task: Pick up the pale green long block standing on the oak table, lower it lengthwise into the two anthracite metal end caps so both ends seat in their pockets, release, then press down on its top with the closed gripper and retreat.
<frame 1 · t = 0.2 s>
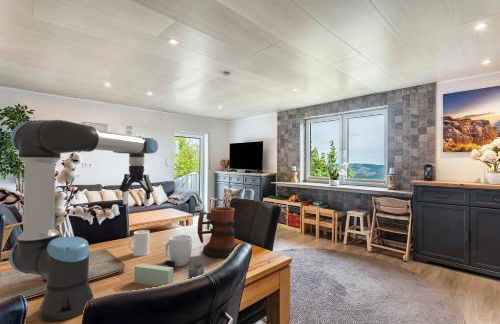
hand: (135, 204, 139), 28 cm above the table, fingers open, 13 cm apart
tankard: (219, 252, 148), on the table
cap far: (164, 271, 121), on the table
mug: (138, 254, 143), on the table
mug 2: (178, 263, 130), on the table
pale green long block: (153, 283, 108), on the table
cap near: (199, 276, 116), on the table
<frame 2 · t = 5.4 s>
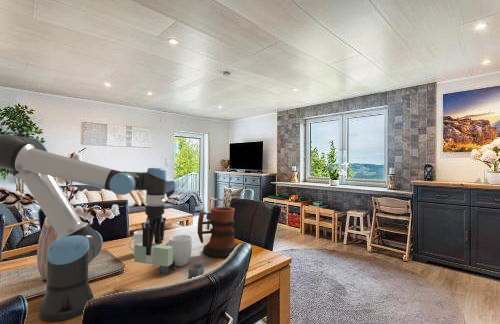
hand: (152, 260, 108), 9 cm above the table, fingers closed on pale green long block, 3 cm apart
pale green long block: (153, 262, 108), point 9 cm above the table, touching gripper
everything else where it was.
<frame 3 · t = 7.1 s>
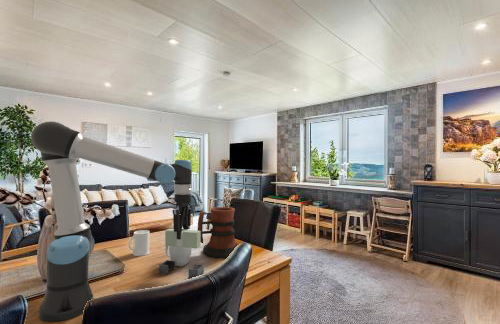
hand: (182, 244, 119), 13 cm above the table, fingers closed on pale green long block, 3 cm apart
pale green long block: (182, 246, 118), point 13 cm above the table, touching gripper
everything else where it was.
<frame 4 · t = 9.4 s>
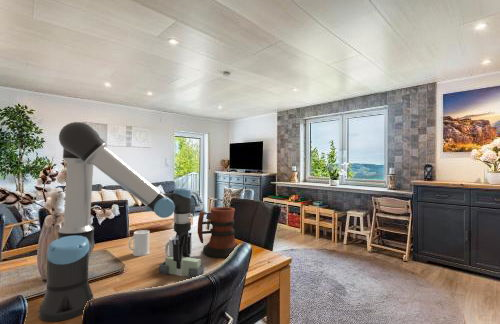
hand: (182, 273, 119), 0 cm above the table, fingers closed on pale green long block, 4 cm apart
pale green long block: (182, 273, 118), on the table, touching gripper
everything else where it was.
when the fingers open (0 cm above the table, at t = 10.8 s): pale green long block stays where it is, on the table.
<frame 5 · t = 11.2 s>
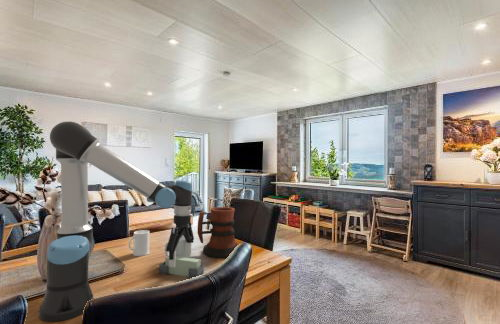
hand: (180, 261, 118), 6 cm above the table, fingers open, 13 cm apart
pale green long block: (182, 274, 118), on the table
everything else where it was.
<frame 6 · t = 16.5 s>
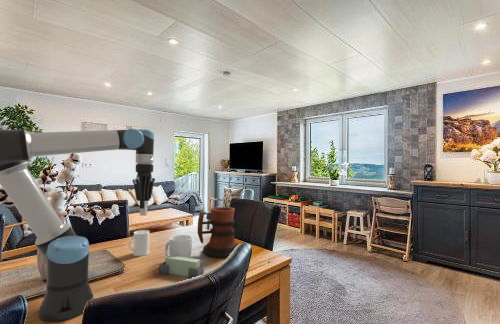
hand: (143, 215, 118), 26 cm above the table, fingers closed
nothing on the table moved.
at the end: pale green long block 0.5 cm from the target spot, on the table; pale green long block tilted 0°; the gripper is holding nothing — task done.
